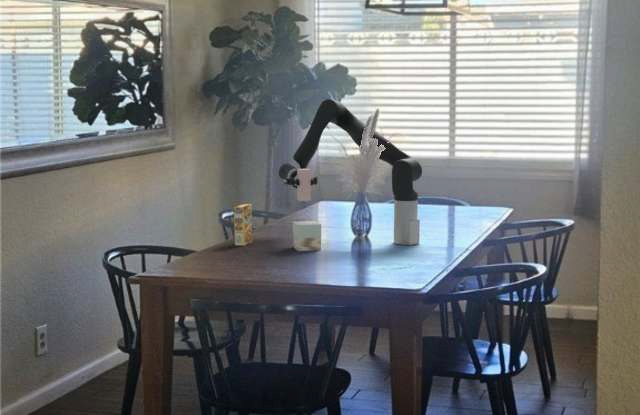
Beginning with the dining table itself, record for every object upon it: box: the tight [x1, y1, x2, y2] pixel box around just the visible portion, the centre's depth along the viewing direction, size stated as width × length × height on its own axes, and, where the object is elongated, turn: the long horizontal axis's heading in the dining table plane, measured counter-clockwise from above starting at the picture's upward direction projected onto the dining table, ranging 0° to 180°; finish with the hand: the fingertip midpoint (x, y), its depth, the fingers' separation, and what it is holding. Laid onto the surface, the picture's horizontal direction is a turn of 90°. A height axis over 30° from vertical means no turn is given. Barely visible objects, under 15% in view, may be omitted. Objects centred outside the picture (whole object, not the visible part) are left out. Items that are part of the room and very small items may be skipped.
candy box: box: [233, 203, 253, 247], centre depth 372 cm, size 9×4×15 cm, turn 163°
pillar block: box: [296, 168, 312, 202], centre depth 366 cm, size 4×4×12 cm
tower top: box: [292, 220, 322, 239], centre depth 362 cm, size 9×9×5 cm
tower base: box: [293, 235, 322, 252], centre depth 363 cm, size 9×9×5 cm
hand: (305, 182), depth 363 cm, fingers closed on pillar block, 4 cm apart
